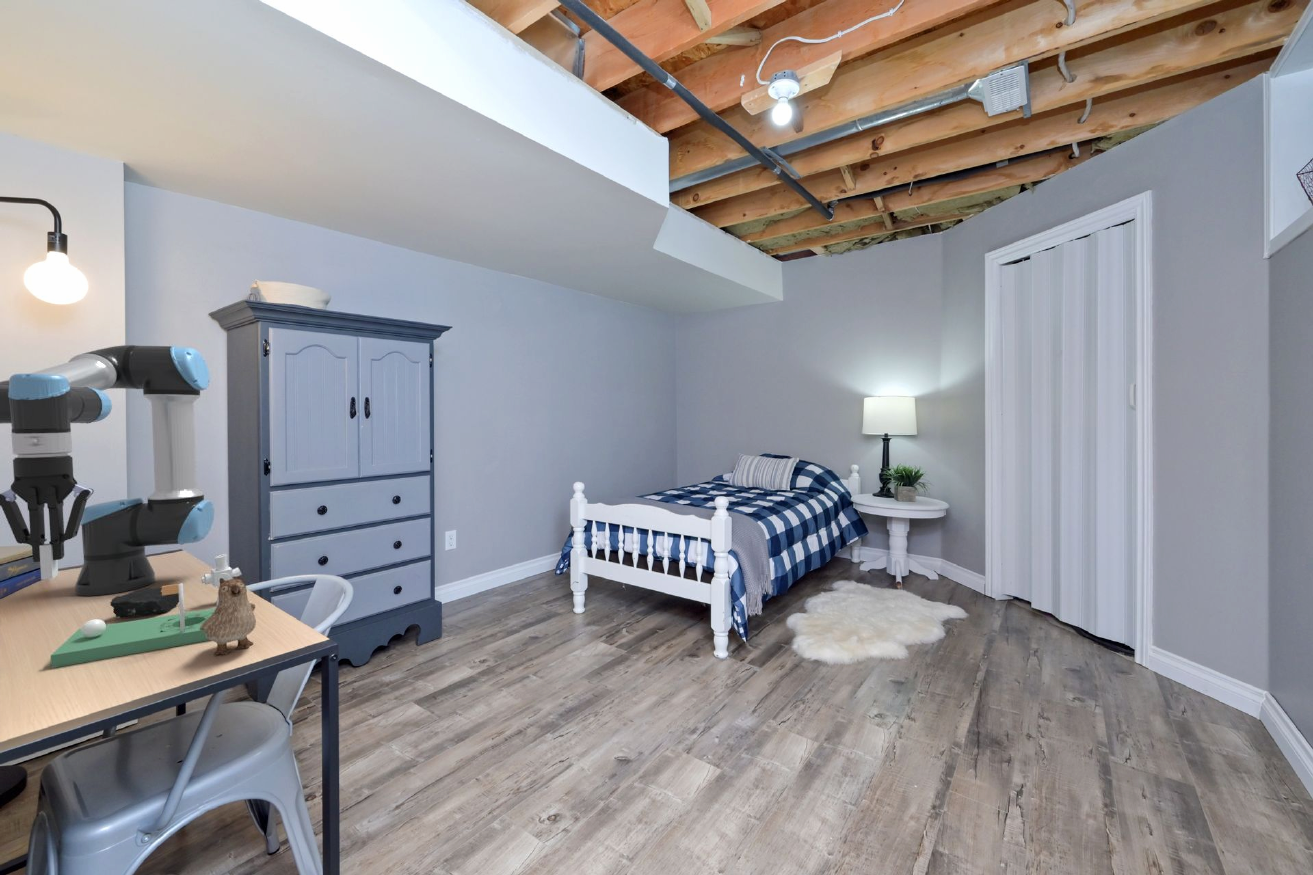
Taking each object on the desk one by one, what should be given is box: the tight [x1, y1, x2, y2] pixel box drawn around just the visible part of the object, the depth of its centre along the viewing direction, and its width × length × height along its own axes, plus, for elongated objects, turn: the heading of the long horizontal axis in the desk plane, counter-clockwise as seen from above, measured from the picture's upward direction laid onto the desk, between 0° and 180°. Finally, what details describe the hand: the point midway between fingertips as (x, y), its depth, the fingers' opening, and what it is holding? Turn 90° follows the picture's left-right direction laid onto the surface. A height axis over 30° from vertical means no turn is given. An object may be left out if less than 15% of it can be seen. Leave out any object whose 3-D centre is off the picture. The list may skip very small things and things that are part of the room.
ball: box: [80, 618, 107, 638], centre depth 108 cm, size 4×4×4 cm
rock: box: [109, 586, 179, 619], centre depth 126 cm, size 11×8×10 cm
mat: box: [50, 583, 217, 669], centre depth 112 cm, size 14×24×12 cm, turn 122°
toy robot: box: [201, 553, 243, 607], centre depth 133 cm, size 4×8×12 cm, turn 138°
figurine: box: [199, 574, 257, 656], centre depth 107 cm, size 9×10×15 cm
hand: (49, 577), depth 104 cm, fingers closed
